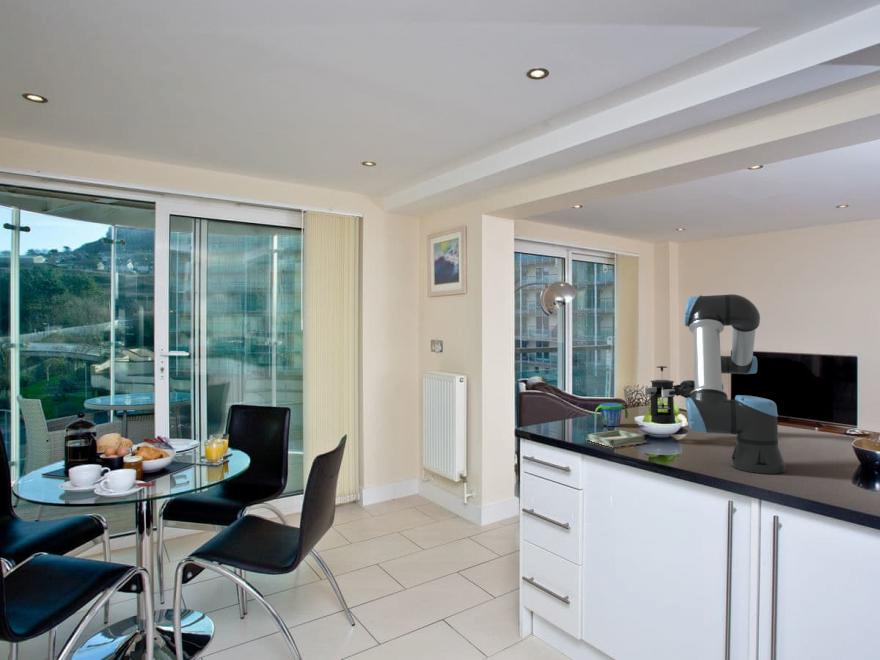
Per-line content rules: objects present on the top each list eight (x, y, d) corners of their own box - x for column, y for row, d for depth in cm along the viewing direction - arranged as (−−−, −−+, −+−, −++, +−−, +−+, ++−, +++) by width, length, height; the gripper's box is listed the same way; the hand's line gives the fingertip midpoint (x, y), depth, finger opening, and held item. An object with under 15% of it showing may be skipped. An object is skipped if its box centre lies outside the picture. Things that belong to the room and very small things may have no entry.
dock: (646, 443, 206) (646, 436, 206) (612, 448, 199) (612, 440, 199) (617, 436, 221) (617, 429, 221) (585, 440, 213) (584, 433, 213)
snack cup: (597, 428, 241) (596, 406, 241) (592, 423, 251) (592, 403, 251) (631, 427, 239) (630, 406, 239) (625, 423, 250) (624, 402, 250)
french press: (661, 418, 217) (660, 365, 217) (681, 422, 209) (680, 366, 209) (643, 421, 211) (641, 366, 211) (662, 425, 203) (661, 367, 203)
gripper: (715, 400, 208) (675, 404, 198) (672, 395, 227) (633, 398, 218) (714, 382, 208) (674, 385, 198) (671, 378, 227) (633, 381, 218)
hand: (653, 392), depth 208 cm, fingers closed on french press, 8 cm apart
